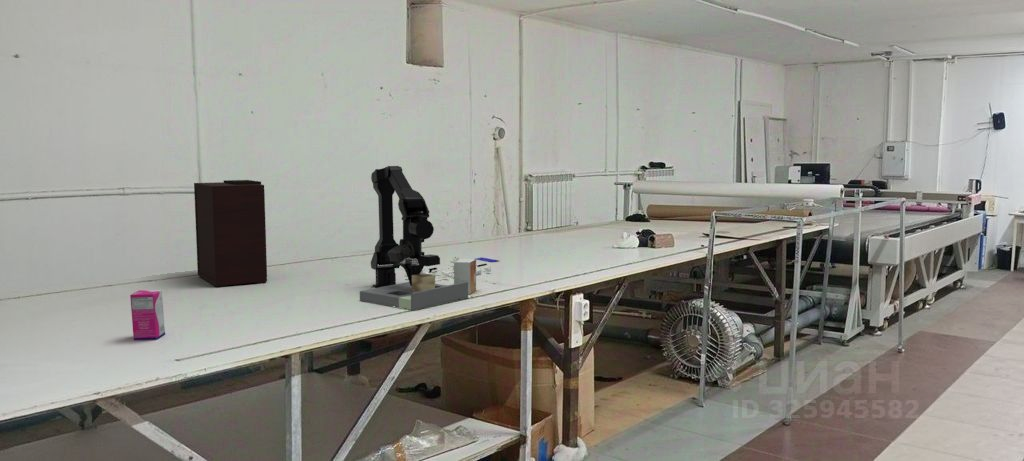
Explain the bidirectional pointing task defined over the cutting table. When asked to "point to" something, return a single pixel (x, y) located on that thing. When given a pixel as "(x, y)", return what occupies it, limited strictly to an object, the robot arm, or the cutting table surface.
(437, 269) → the miniature set
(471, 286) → the small box
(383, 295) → the board
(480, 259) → the booklet
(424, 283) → the maple block
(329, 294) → the cutting table surface
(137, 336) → the supplement box
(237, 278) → the tall dark brown box
